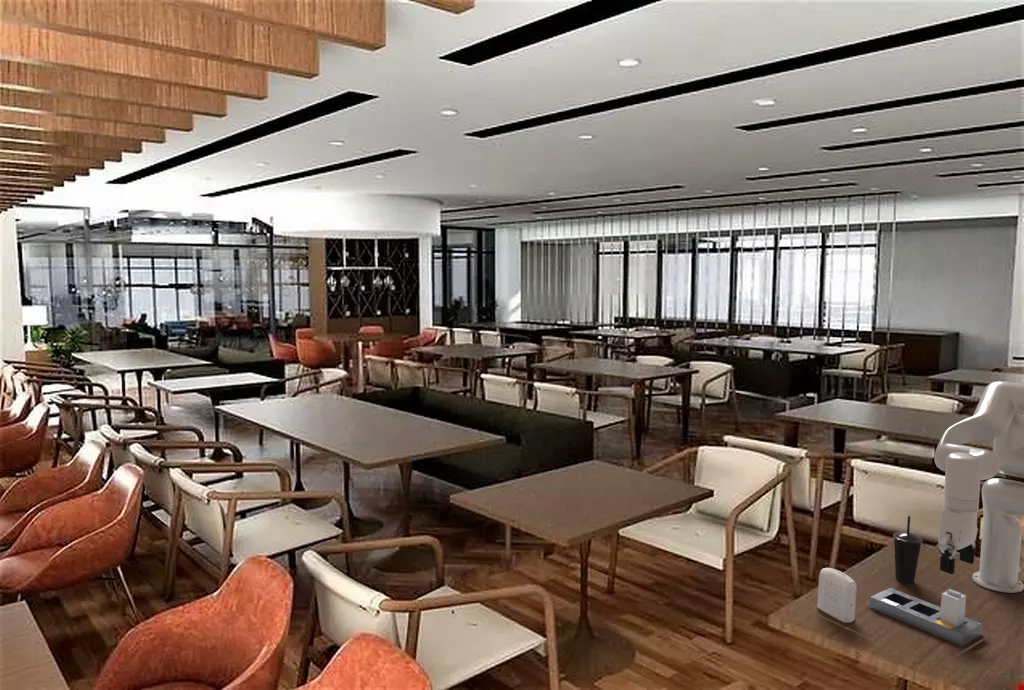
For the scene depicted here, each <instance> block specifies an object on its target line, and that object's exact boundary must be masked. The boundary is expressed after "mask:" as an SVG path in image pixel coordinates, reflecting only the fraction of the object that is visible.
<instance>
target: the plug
mask: <svg viewBox="0 0 1024 690" xmlns="http://www.w3.org/2000/svg"><path fill="white" fill-rule="evenodd" d="M940 601H941V602H940V607H941V611H940V621H942V622H945V623H947V624H950V625H952V626H955V627H956V628H959V627H961V626H963V625H964V618H965V617H966V615H965V614H966V606H967V605H966V603H967V595H965V594H964V593H963V594H962V592H959V591H957V590H954V589H951V588H949V589H947V590H946V591H944V592H942V593H941V600H940Z"/></svg>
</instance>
